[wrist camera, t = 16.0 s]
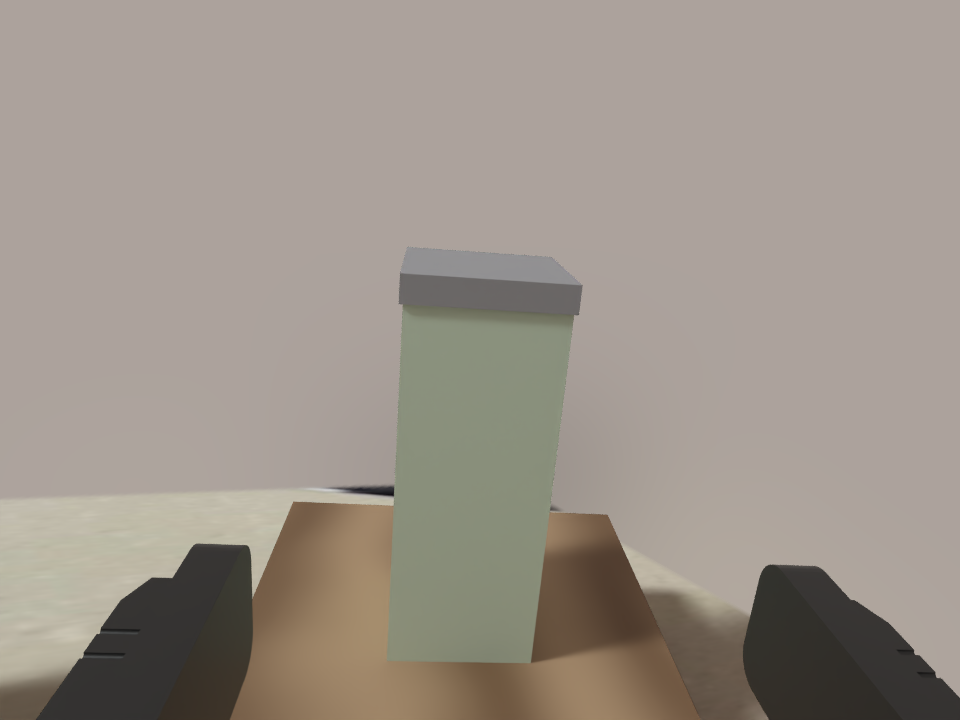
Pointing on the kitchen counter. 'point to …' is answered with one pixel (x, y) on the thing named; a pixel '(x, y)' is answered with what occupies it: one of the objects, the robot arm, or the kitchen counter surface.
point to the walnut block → (450, 685)
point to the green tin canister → (475, 450)
